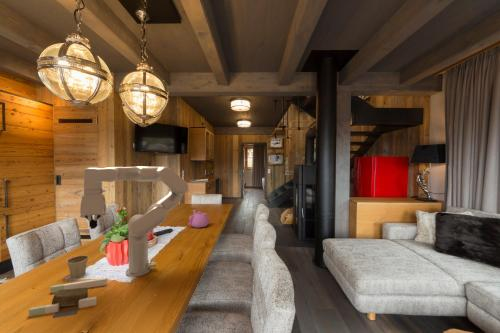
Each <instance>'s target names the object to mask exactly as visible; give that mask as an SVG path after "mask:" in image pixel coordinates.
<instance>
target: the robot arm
mask: <svg viewBox="0 0 500 333" xmlns="http://www.w3.org/2000/svg"><path fill="white" fill-rule="evenodd" d="M116 181H134V182H138V183H139V182H141V183H142V182H144V183H145V182H162V183H163V184H164V185H165V186H167V187H168V188H169V192H168V193H167V194H166V195H164V197H162V198H160V199H159V200H157V201H156V202H155V203H153V204H151V205H150V206H149V207H148V208H147V212H146V213H144V214H140V213H139V214H135V215H133V216H132V217H130V219H129V220H128V223H127V224H128V225H127V226H128V228H127V230H128V268H127V269H126V270H125V275H126V276H127V275H128V276H127V277H129V276H134V277H133V278H137V277H141V276H144V275H146V274H148V273H150V271H151V269H152V268H155V267H157V262H155V261H152V262H150V260H149V254H148V253H149V250H148V249H149V236H148V234H149V233H150V232H152V231H153V230H154V229H156V228H157V227H159V226H161V224H163V223H164V222H165V221H166V220H167V219H168V216H169V215H168V214H169V212H170V211H172V210H173V209H174V208H175V207H177V206H178V205H179V204H180V203H181V201H182V198H183V196H184V195H185V194H187V192H188V191H189V184H188V183H187V181H186V180H184V179H183V178H182V177H181V176H180V175H179V174H178V173H177V172H175V171H174V170H173V169H172V168H170V167H169V166H149V165H148V166H145V165H144V166H143V165H141V166H138V165H137V166H125V167H124V166H109V167H104V168H101V167H86V168H84V170H83V195H81V196H82V197H81V201H80V209H79V210H80V211H79V212H80V216H79V218H84V219H86V220H88V223H89V228H90V230H94V229H96V228H97V227H98V220H99V219H100V218H102V217H105V216H106V215H107V214H106V211H107V206H106V205H107V202H106V197H105V194H104V193H105V192H106V189H104V188H103V182H104V183H112V182H116ZM93 215H94V217H93Z"/></svg>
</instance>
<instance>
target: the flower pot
mask: <svg viewBox="0 0 500 333" xmlns="http://www.w3.org/2000/svg"><path fill="white" fill-rule="evenodd" d="M89 258H90V257H89V255H87V254H86V255H77V256H74V257H73V256H72V257H71V258H67V260H66V262H65V263H66V264H67V266H68V270H69V275H70V278H72V277H75V278H77V277H79V276H80V277H82V276H84V275H85V274H86V270H87V262H88V259H89ZM83 274H84V275H83ZM81 275H82V276H81Z"/></svg>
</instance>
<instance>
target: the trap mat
mask: <svg viewBox="0 0 500 333" xmlns="http://www.w3.org/2000/svg"><path fill="white" fill-rule="evenodd" d="M80 309H81V308H79V307H77V308H70V309H67V310H66V309H65V310H59V311H58V312H54V314H53V315H52V318H53V319H56V318H62V317H68V316H73V315H74V316H75V315H77V314H78V312H79V310H80Z"/></svg>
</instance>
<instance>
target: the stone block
mask: <svg viewBox="0 0 500 333" xmlns="http://www.w3.org/2000/svg"><path fill="white" fill-rule="evenodd" d="M88 291H89V290H88V288H75V289H66V290H59V291H58V292H57V293H55V294H54V295H53V298H52V299H51V300H52V301H51V304H56V303H59V308H63V307H75V306H79V300H80V299H85V298H89V292H88Z"/></svg>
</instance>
